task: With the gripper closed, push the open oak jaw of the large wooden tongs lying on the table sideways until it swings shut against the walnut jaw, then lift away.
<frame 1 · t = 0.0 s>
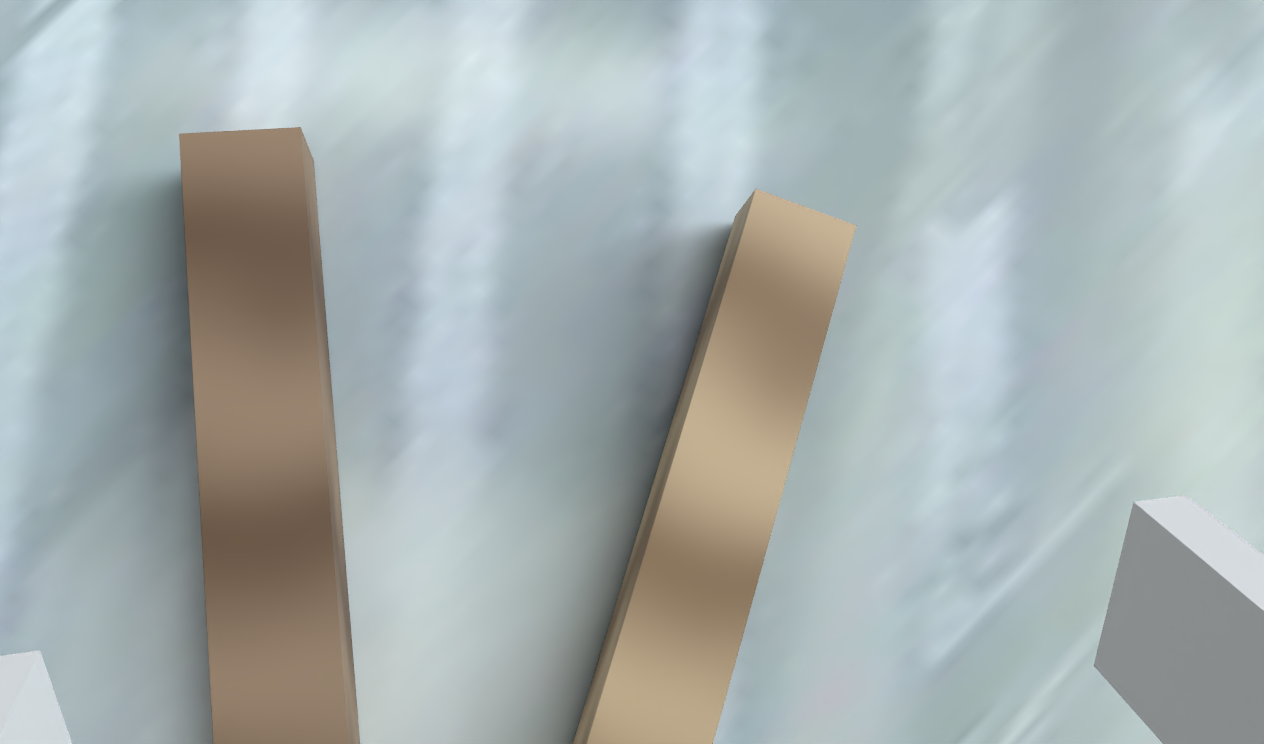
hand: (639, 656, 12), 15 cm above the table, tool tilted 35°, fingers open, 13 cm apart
tongs swing jaw: (684, 594, 26), point 1 cm above the table, hinge at -25.0°
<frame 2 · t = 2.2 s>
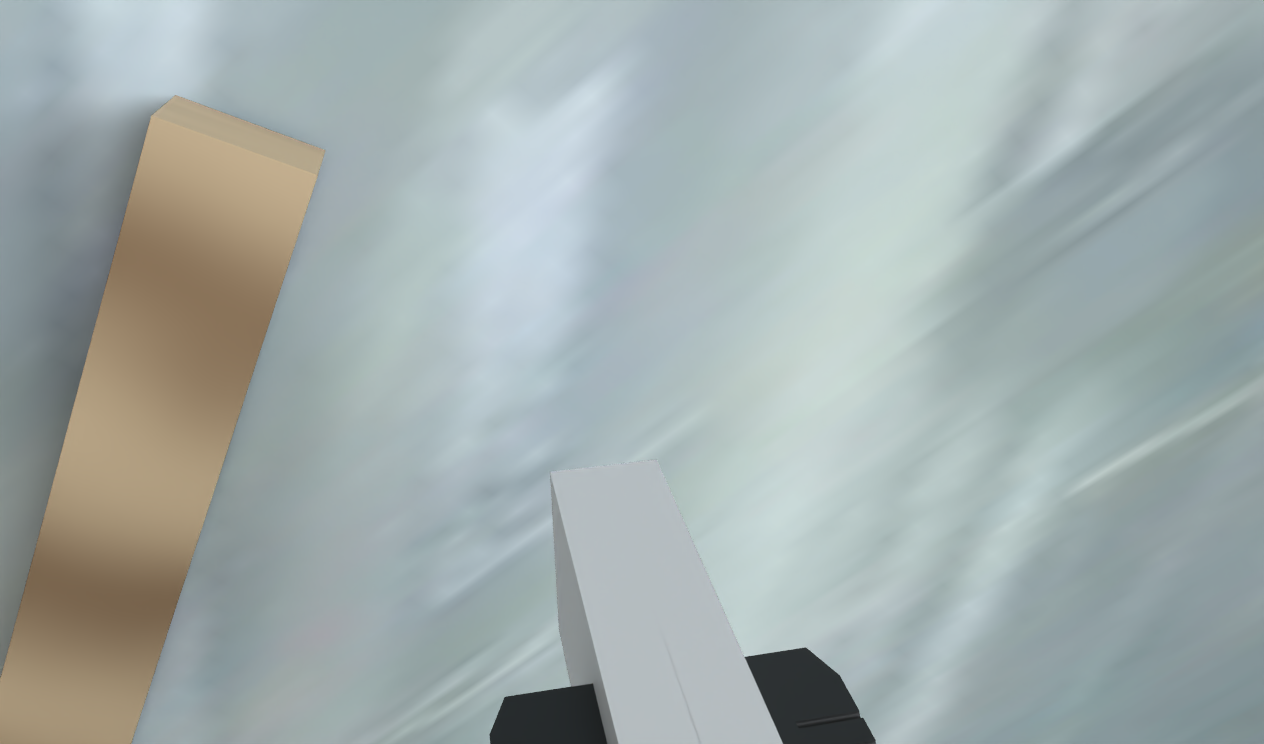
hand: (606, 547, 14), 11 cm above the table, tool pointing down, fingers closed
tongs swing jaw: (109, 584, 23), point 1 cm above the table, hinge at -25.0°
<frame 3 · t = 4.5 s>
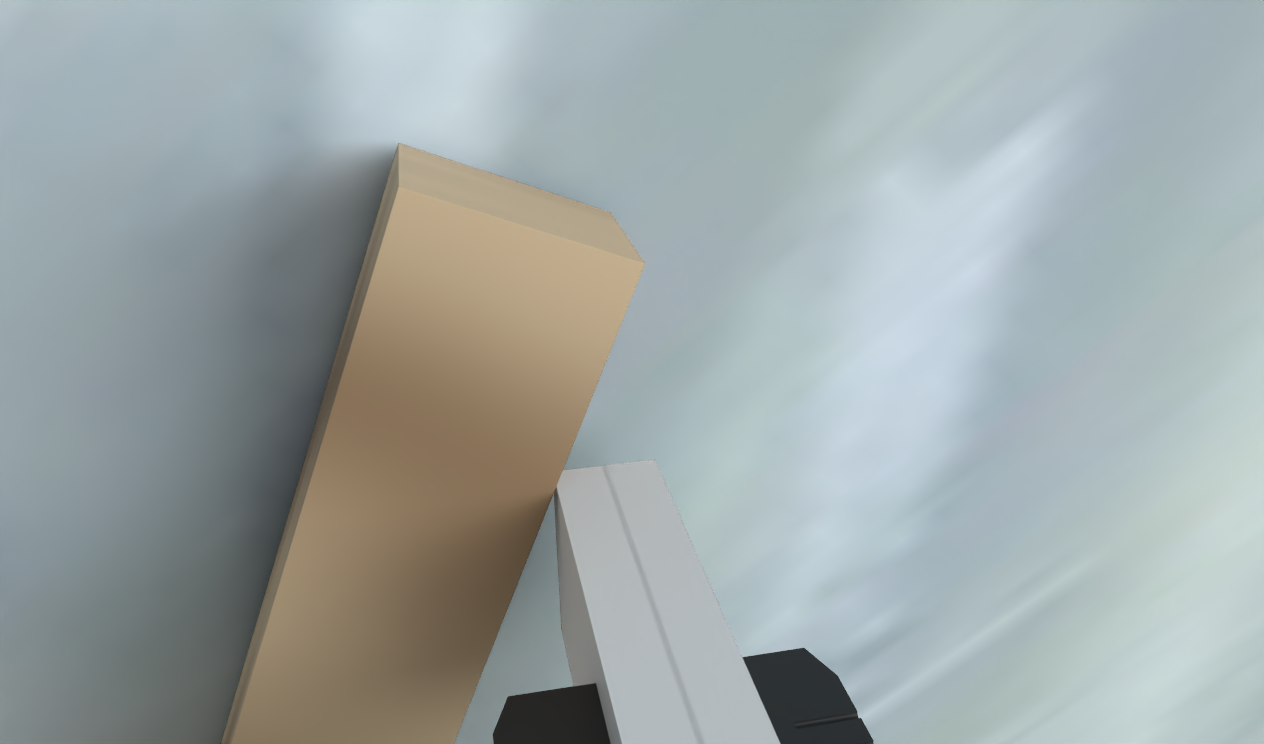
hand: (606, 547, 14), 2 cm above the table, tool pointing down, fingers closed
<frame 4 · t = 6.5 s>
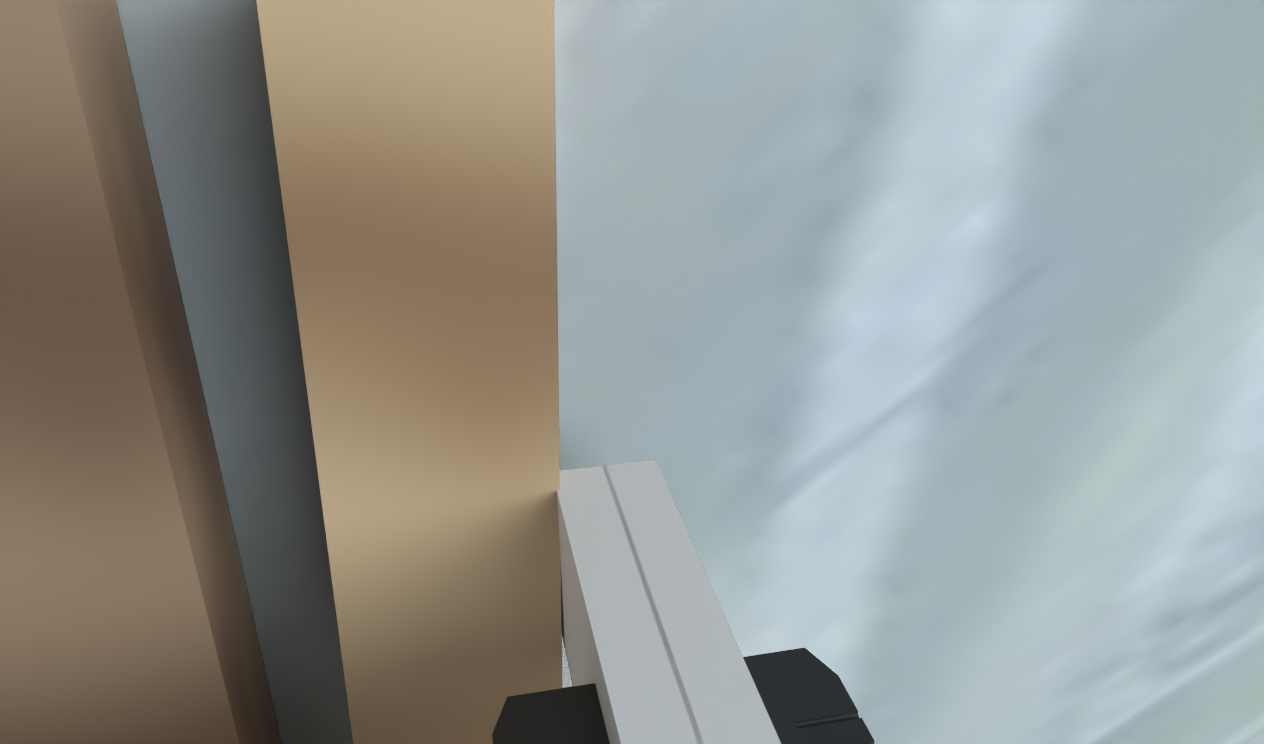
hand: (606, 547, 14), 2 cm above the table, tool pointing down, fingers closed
tongs swing jaw: (458, 718, 16), point 1 cm above the table, hinge at -2.1°, touching gripper
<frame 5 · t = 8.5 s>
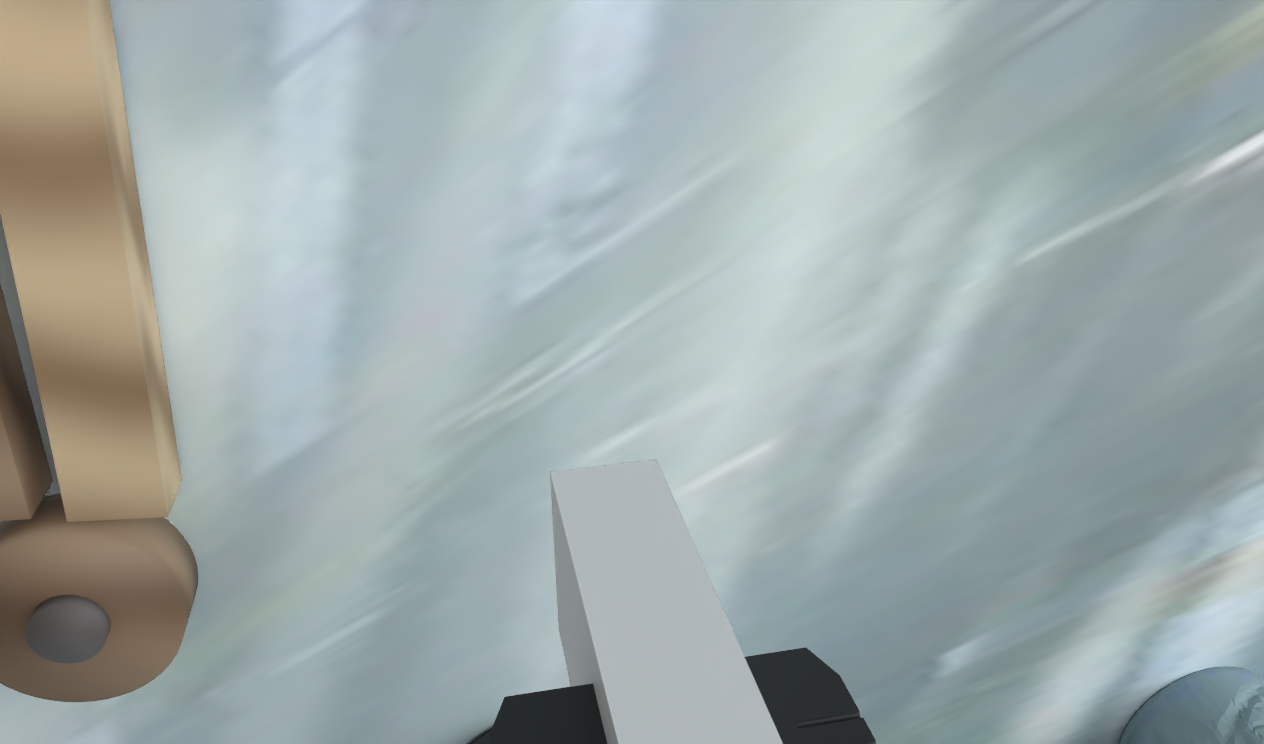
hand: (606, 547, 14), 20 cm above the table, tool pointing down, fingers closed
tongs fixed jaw: (92, 574, 36), on the table
pale blue plant pot: (1189, 728, 53), on the table
tongs swing jaw: (67, 174, 28), point 1 cm above the table, hinge at -2.0°
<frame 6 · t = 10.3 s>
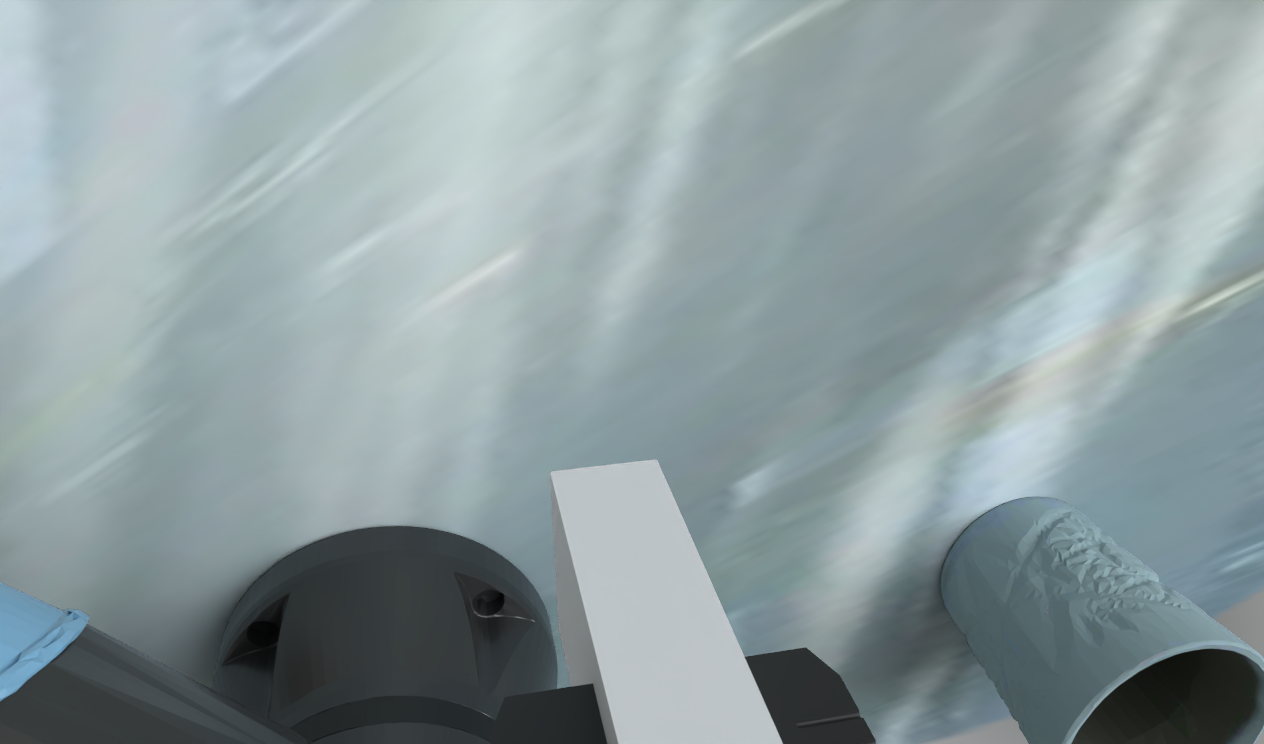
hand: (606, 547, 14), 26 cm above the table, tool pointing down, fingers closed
pale blue plant pot: (1012, 566, 53), on the table
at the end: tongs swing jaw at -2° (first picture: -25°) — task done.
